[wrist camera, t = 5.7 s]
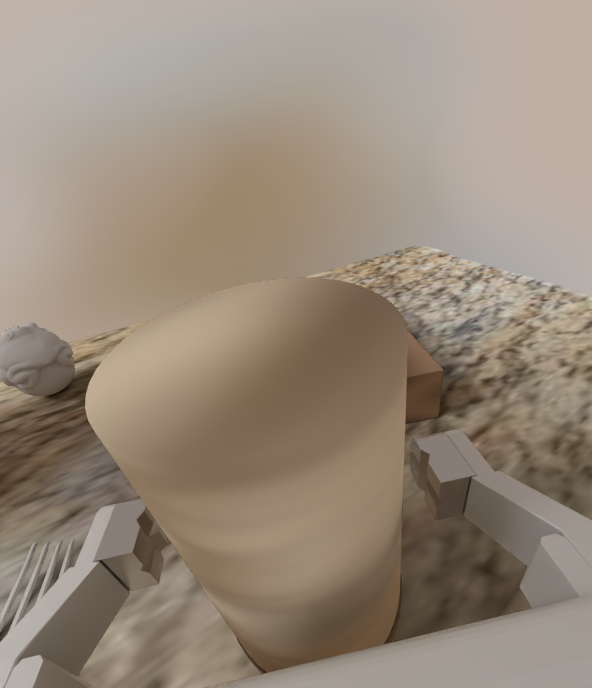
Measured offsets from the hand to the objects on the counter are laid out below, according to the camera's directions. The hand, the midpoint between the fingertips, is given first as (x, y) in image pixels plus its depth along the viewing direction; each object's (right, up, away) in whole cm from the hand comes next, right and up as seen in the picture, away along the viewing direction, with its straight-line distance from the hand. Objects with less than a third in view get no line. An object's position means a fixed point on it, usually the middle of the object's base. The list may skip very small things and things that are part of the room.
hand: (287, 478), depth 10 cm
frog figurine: (-24, 0, +23) cm, 33 cm away
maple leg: (+1, -7, +4) cm, 8 cm away
